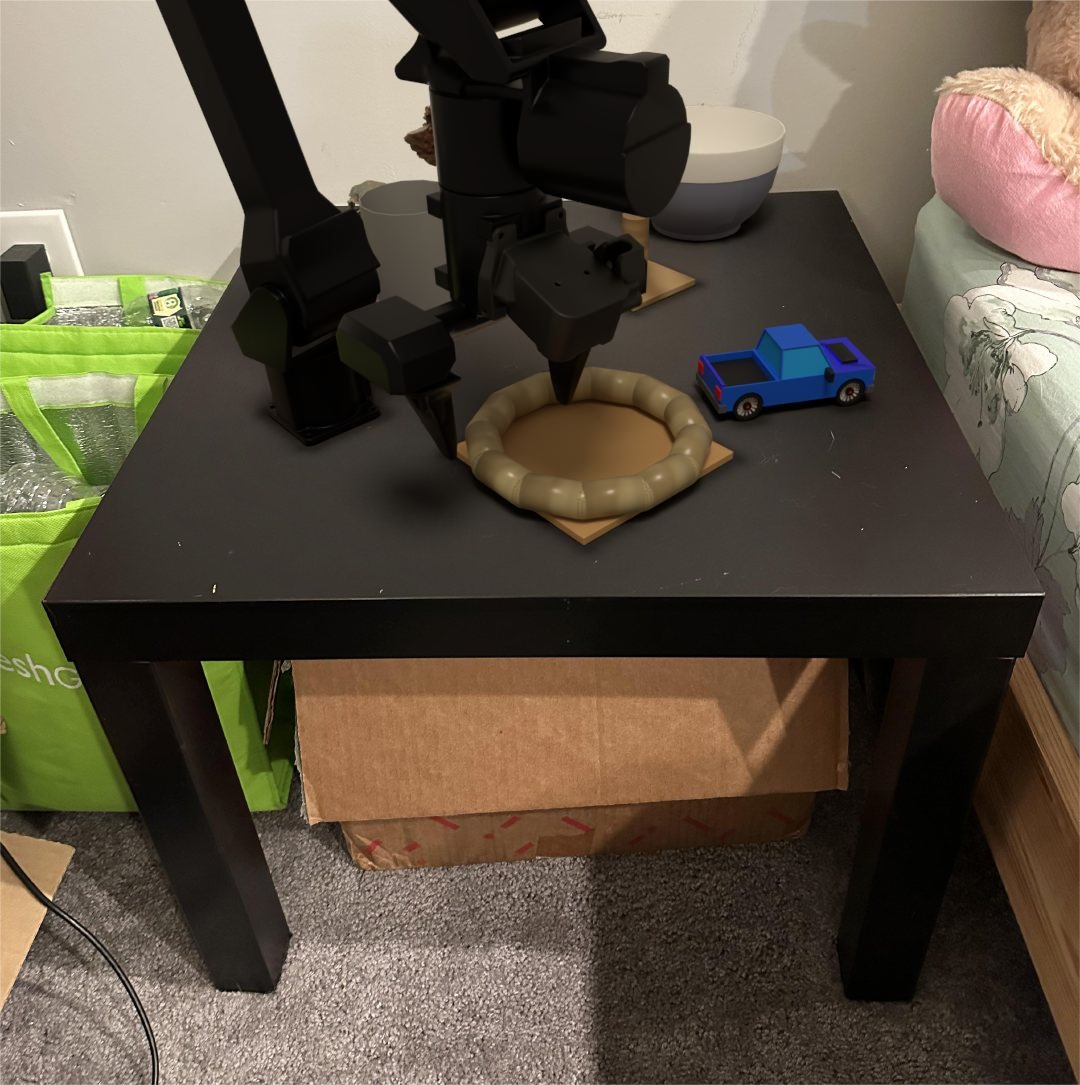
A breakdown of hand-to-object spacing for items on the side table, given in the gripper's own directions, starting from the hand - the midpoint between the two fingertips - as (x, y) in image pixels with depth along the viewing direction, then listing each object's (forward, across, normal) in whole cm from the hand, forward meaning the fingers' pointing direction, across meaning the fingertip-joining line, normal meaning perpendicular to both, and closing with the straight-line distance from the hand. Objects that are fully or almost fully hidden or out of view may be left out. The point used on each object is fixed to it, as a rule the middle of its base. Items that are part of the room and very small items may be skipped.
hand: (508, 429), depth 60 cm
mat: (+5, +7, 0) cm, 9 cm away
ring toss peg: (+5, +29, +18) cm, 35 cm away
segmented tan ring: (+4, +7, 0) cm, 8 cm away
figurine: (+6, +22, +35) cm, 42 cm away
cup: (+6, +12, +28) cm, 31 cm away
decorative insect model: (+6, +20, +47) cm, 52 cm away
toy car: (+6, +23, -4) cm, 24 cm away
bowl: (+6, +44, +24) cm, 51 cm away
